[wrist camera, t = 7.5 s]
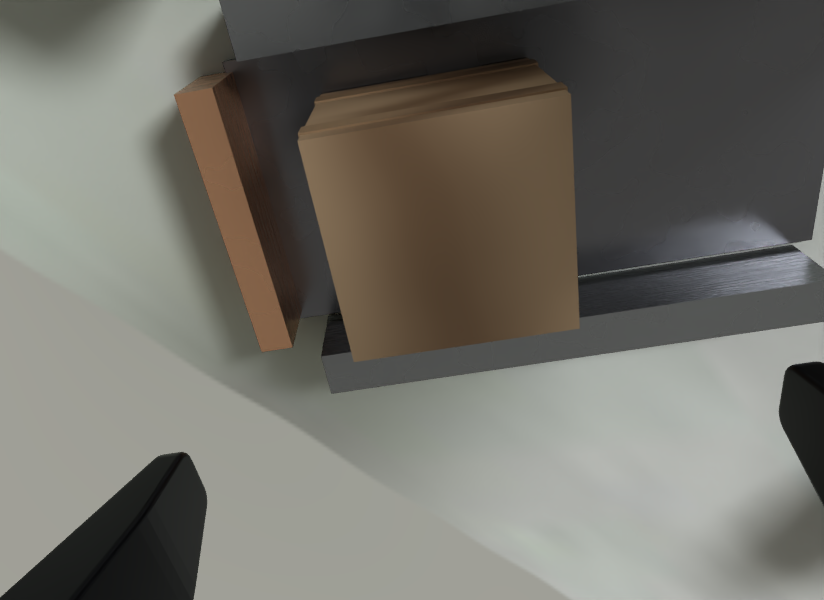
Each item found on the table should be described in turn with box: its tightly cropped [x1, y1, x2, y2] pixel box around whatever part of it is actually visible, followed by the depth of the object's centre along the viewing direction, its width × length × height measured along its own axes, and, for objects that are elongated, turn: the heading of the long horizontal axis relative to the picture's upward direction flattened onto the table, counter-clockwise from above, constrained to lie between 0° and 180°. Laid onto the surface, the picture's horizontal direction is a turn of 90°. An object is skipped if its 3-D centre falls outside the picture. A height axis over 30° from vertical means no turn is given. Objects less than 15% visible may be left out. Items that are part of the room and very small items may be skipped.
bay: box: [174, 0, 824, 393], centre depth 16 cm, size 20×17×6 cm
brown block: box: [297, 58, 580, 362], centre depth 17 cm, size 6×6×5 cm
